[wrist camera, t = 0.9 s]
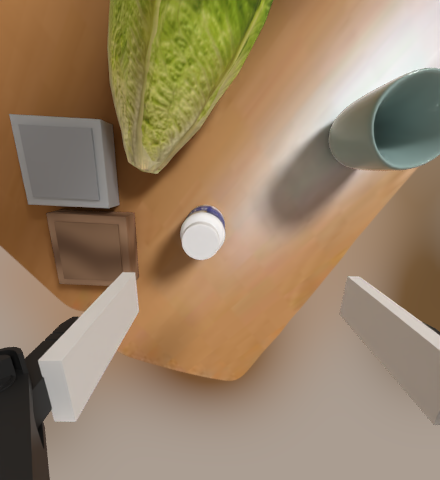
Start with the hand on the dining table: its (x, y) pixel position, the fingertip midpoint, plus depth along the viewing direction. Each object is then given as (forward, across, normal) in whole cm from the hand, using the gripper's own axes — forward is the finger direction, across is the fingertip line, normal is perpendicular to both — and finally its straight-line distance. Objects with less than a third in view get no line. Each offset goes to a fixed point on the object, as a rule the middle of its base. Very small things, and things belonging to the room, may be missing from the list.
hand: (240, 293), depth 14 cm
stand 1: (+18, -20, +8) cm, 28 cm away
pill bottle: (+19, -3, 0) cm, 19 cm away
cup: (+19, +15, +12) cm, 27 cm away
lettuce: (+19, -6, +18) cm, 27 cm away
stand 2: (+19, -18, -3) cm, 26 cm away
